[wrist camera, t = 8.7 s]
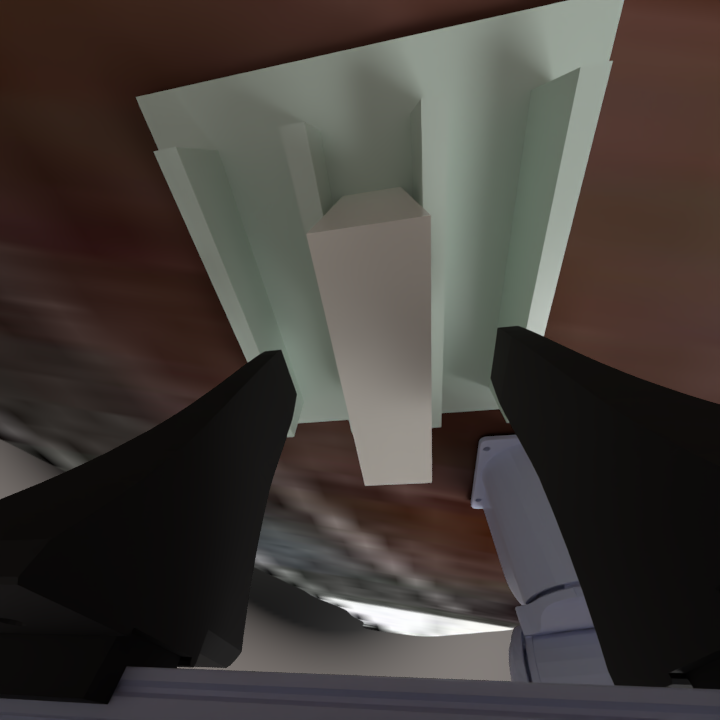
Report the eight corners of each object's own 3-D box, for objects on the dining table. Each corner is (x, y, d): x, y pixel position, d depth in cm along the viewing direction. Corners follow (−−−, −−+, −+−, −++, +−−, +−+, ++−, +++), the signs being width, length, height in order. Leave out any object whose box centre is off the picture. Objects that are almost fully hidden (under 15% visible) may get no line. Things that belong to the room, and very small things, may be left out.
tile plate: (409, 359, 17) (431, 482, 11) (368, 363, 17) (364, 485, 11) (400, 186, 12) (431, 215, 6) (342, 196, 12) (306, 234, 6)
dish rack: (520, 402, 19) (546, 444, 16) (280, 419, 21) (265, 459, 18) (616, -6, 9) (724, -81, 6) (144, 99, 11) (65, 77, 8)
